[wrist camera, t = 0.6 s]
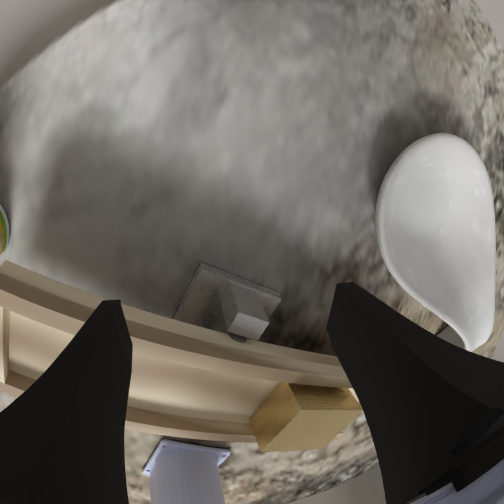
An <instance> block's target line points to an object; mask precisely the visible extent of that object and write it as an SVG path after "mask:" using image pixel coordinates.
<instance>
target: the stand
mask: <svg viewBox="0 0 504 504" xmlns="http://www.w3.org/2000/svg"><path fill="white" fill-rule="evenodd" d="M281 300H282V299H281V297H280V295H279V293H278V292H277V291H274V290H272V289H269V288H266V287H264V286H261V285H259V284H256V283H253V282H251V281H248V280H246V279H243V278H240V277H238V276H235V275H233V274H230V273H228V272H225V271H222V270H220V269H217V268H215V267H212V266H210V265H207V264H205V263H202V262H201V263H200V265H199V267H198V269H197V271H196V273H195V275H194V277H193V279H192V281H191V283H190V285H189V287H188V289H187V291H186V293H185V296H184V298H183V300H182V302H181V304H180V306H179V308H178V310H177V312H176V314H175V317H174V320H177V321H181V322H185V323H188V324H192V325H195V326H199V327H203V328H207V329H211V330H214V331H218V332H222V333H226V334H227V333H228V332H231V333H234V334H237V335H241V336H244V337H247V339H251V340H259V338H260V337H261V335H262V333H263V332H264V330H265V329H266V327H267V326H268V324H269V323H270V322H269V319H270V317H271V315H272V314H273V312H274V311H275V309H276V308H277V306H278V304H279V303H280V301H281Z"/></svg>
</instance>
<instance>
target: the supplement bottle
mask: <svg viewBox="0 0 504 504" xmlns="http://www.w3.org/2000/svg"><path fill="white" fill-rule="evenodd" d="M8 242H9V224H8V219H7V216H6V213H5V211H4V209H3V207H2V205H1V204H0V258H1V257H2V256H3V254H4V253H5V251H6V249H7V246H8Z"/></svg>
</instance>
